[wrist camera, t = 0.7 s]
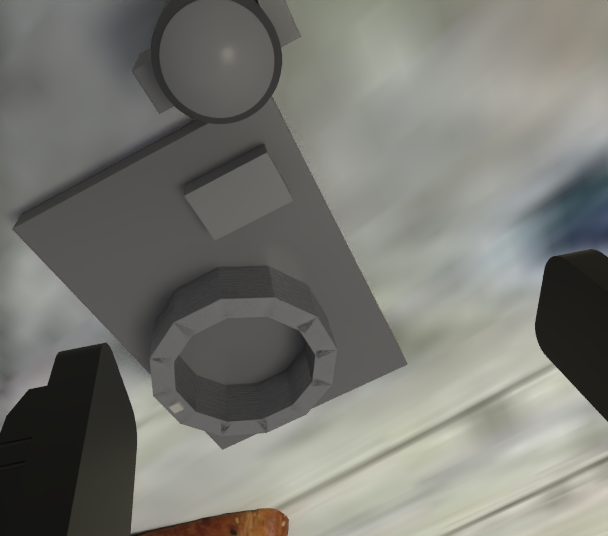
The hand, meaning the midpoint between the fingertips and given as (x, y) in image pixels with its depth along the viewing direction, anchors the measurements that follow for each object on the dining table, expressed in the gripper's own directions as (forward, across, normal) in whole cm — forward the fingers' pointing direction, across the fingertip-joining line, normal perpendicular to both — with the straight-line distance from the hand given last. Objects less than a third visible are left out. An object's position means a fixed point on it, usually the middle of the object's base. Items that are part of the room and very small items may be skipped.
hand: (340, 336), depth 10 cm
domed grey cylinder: (+19, 0, -3) cm, 19 cm away
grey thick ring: (+18, +2, +13) cm, 23 cm away
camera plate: (+19, +2, +11) cm, 22 cm away
